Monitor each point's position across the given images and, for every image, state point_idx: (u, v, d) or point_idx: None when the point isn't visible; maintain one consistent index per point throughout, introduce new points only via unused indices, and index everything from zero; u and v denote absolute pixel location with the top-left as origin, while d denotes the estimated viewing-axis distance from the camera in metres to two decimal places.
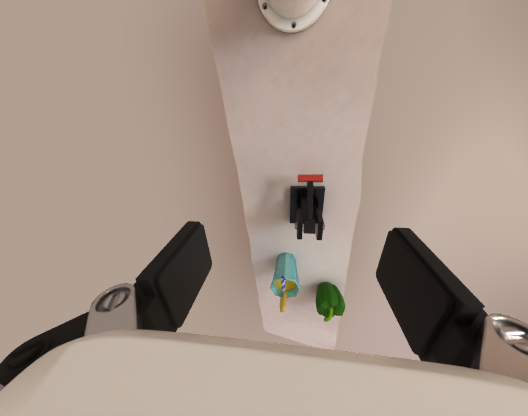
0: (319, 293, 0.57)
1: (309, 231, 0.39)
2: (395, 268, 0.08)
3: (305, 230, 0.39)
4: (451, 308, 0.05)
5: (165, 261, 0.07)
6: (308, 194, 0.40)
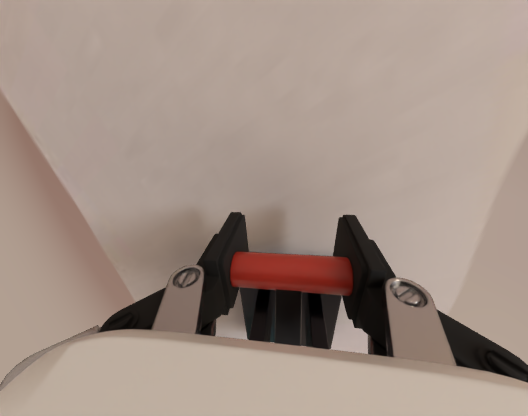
0: None
1: None
2: (341, 249, 0.09)
3: None
4: (366, 275, 0.07)
5: (223, 245, 0.08)
6: None
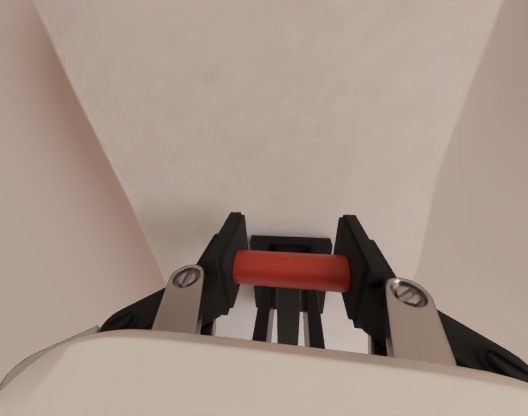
0: None
1: None
2: (341, 249, 0.09)
3: None
4: (366, 275, 0.07)
5: (223, 246, 0.08)
6: (281, 326, 0.10)
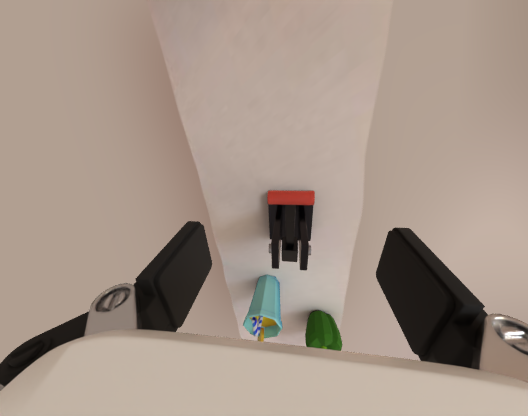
0: (309, 326, 0.45)
1: (289, 260, 0.28)
2: (395, 268, 0.08)
3: (283, 259, 0.28)
4: (451, 308, 0.05)
5: (165, 261, 0.07)
6: (287, 221, 0.23)
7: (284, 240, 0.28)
